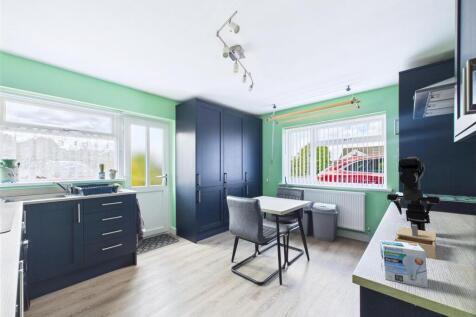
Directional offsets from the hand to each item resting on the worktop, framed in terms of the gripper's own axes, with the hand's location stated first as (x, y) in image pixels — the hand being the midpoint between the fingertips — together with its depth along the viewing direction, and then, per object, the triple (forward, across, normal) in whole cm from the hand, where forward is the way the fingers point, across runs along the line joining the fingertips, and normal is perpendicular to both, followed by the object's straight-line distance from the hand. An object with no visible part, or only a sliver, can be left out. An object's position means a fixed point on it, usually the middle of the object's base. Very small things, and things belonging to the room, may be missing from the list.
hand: (413, 216), depth 94 cm
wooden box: (+12, +1, -13) cm, 18 cm away
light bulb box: (+12, 0, -44) cm, 46 cm away
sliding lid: (+7, +1, -7) cm, 10 cm away
